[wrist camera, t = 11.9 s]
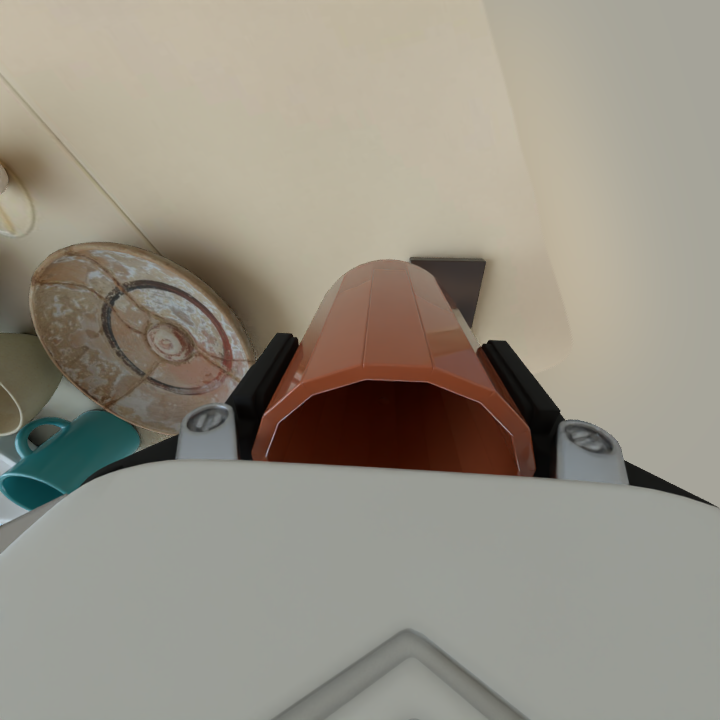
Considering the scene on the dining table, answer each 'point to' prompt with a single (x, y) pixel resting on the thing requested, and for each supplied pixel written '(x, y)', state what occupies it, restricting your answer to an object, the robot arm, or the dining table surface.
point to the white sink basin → (3, 457)
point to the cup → (65, 456)
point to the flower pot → (24, 380)
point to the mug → (393, 384)
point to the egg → (3, 179)
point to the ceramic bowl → (137, 333)
